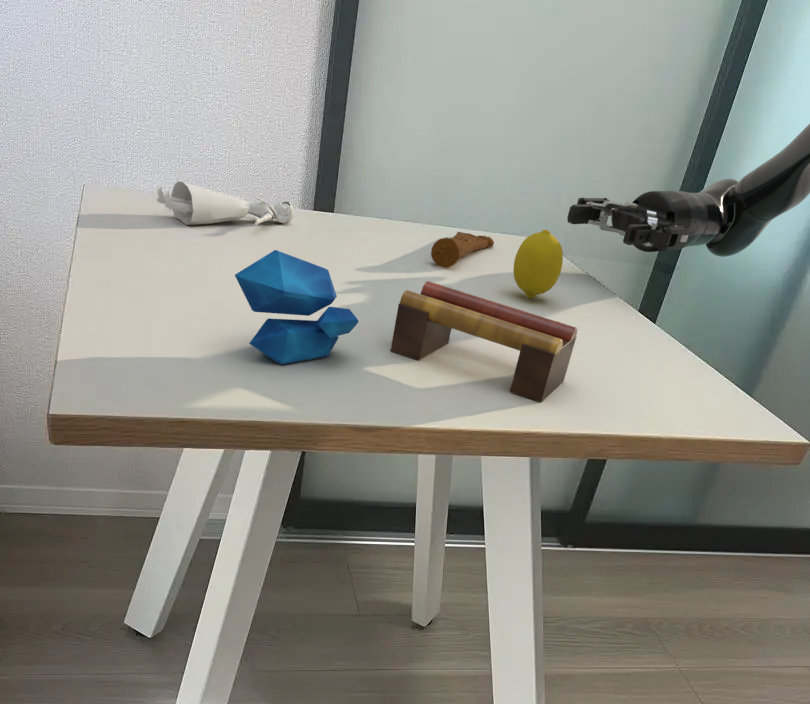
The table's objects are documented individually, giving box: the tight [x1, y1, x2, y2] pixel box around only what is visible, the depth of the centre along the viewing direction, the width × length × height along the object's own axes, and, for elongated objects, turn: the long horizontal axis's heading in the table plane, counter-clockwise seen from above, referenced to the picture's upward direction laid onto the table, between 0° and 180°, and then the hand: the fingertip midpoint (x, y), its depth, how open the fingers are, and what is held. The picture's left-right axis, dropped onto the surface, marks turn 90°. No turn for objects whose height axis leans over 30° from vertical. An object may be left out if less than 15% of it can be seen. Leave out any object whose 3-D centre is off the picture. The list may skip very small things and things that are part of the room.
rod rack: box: [390, 280, 578, 403], centre depth 82 cm, size 15×7×6 cm, turn 64°
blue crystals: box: [234, 249, 359, 366], centre depth 75 cm, size 7×9×12 cm
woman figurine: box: [156, 180, 295, 226], centre depth 111 cm, size 12×4×18 cm
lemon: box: [512, 229, 564, 299], centre depth 104 cm, size 6×6×8 cm
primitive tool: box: [430, 231, 495, 268], centre depth 118 cm, size 19×6×4 cm, turn 165°
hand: (598, 224), depth 109 cm, fingers open, 8 cm apart
